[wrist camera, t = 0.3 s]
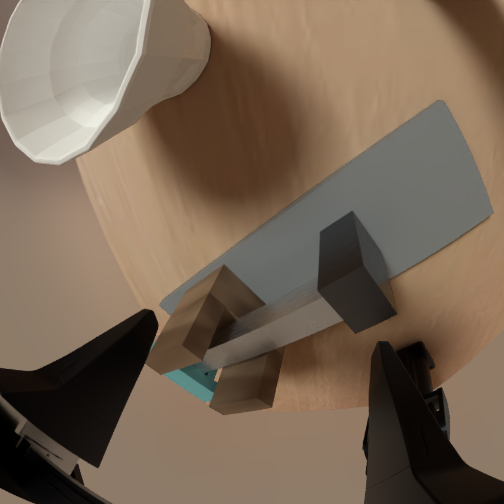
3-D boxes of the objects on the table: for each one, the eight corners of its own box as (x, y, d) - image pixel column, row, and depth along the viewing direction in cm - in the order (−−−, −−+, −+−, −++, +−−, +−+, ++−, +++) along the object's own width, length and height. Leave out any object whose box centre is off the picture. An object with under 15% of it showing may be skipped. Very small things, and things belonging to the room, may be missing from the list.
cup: (108, 132, 21) (9, 177, 12) (101, 11, 14) (-1, 9, 5) (242, 118, 18) (163, 153, 9) (236, -30, 11) (161, -100, 2)
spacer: (235, 361, 28) (222, 398, 24) (218, 366, 29) (204, 401, 25) (174, 312, 26) (153, 349, 22) (160, 321, 27) (139, 356, 23)
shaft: (381, 252, 20) (397, 314, 15) (202, 344, 32) (181, 390, 26) (352, 210, 19) (363, 265, 13) (174, 322, 31) (149, 367, 25)
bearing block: (290, 317, 27) (272, 407, 19) (248, 336, 31) (223, 415, 22) (227, 257, 25) (181, 345, 17) (189, 284, 28) (143, 362, 20)
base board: (488, 207, 16) (493, 212, 15) (223, 350, 33) (221, 356, 32) (438, 99, 13) (443, 100, 13) (162, 299, 31) (158, 305, 30)
